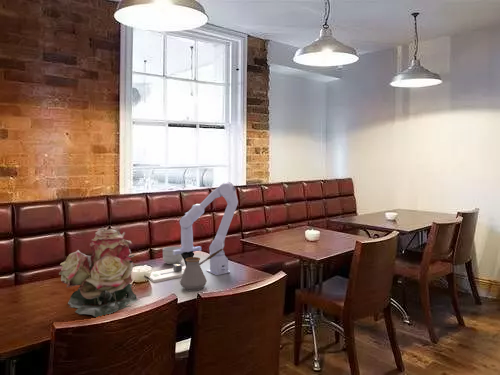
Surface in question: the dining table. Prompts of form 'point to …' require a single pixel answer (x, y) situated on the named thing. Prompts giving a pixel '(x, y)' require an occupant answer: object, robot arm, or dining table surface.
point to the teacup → (171, 255)
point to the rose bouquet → (100, 275)
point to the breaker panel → (166, 274)
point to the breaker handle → (177, 267)
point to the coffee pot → (194, 274)
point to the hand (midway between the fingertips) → (187, 267)
